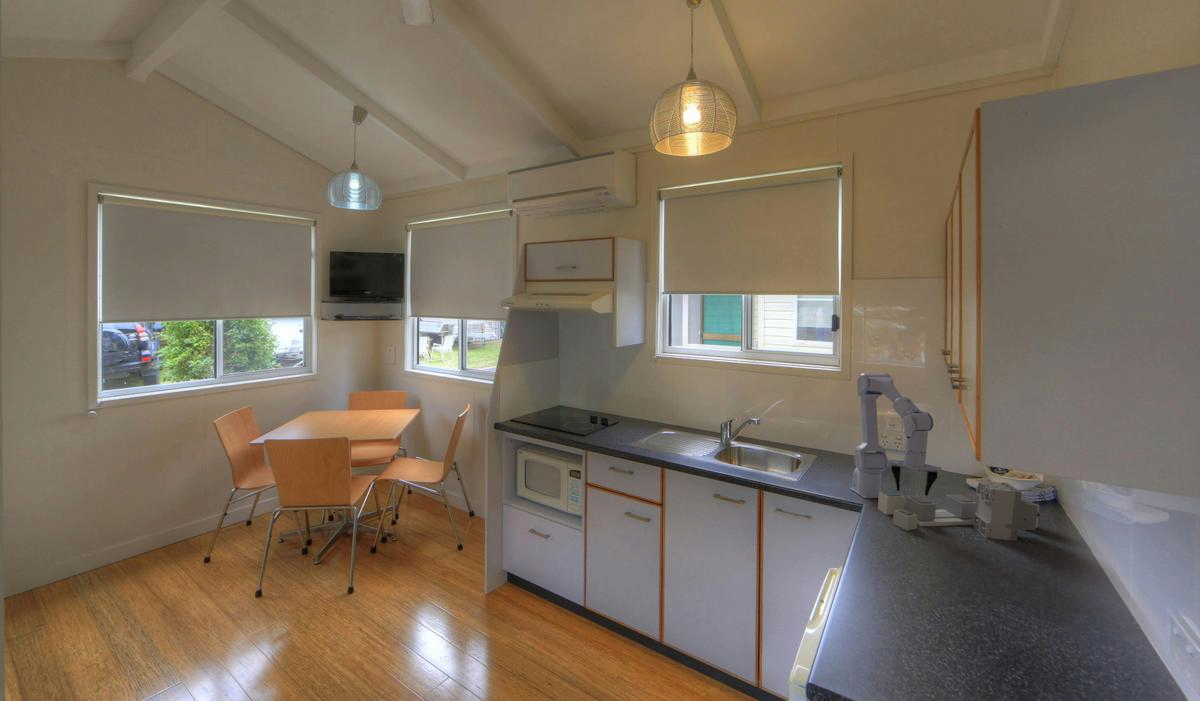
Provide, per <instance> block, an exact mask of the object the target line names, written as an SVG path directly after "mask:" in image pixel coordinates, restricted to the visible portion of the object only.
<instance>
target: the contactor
mask: <svg viewBox="0 0 1200 701" xmlns="http://www.w3.org/2000/svg"><path fill="white" fill-rule="evenodd" d="M917 516H918V515H916V514H914V513H912V512H910V511H907V510H905V508H904V509H899V510H894V514H893V517H892V525H894V526H896V527H899V528H900V529H903V530H905V531H911V530H916V529H918V528H917V526H918V524H917Z"/></svg>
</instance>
